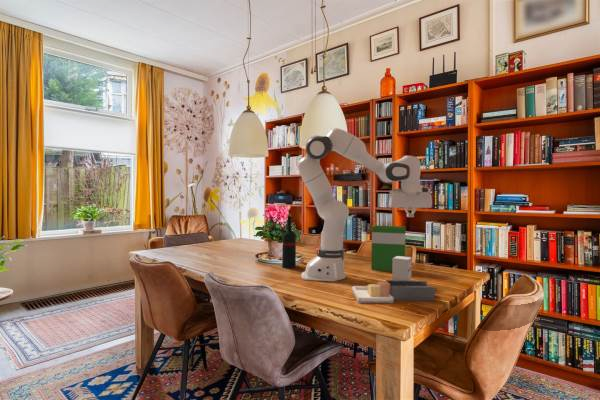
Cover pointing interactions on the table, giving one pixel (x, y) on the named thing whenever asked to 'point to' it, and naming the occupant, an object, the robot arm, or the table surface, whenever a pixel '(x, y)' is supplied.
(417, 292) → the slot block
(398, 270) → the supplement box
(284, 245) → the wine bottle
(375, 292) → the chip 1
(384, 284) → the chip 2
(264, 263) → the table surface
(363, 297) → the tray
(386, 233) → the hardback book
